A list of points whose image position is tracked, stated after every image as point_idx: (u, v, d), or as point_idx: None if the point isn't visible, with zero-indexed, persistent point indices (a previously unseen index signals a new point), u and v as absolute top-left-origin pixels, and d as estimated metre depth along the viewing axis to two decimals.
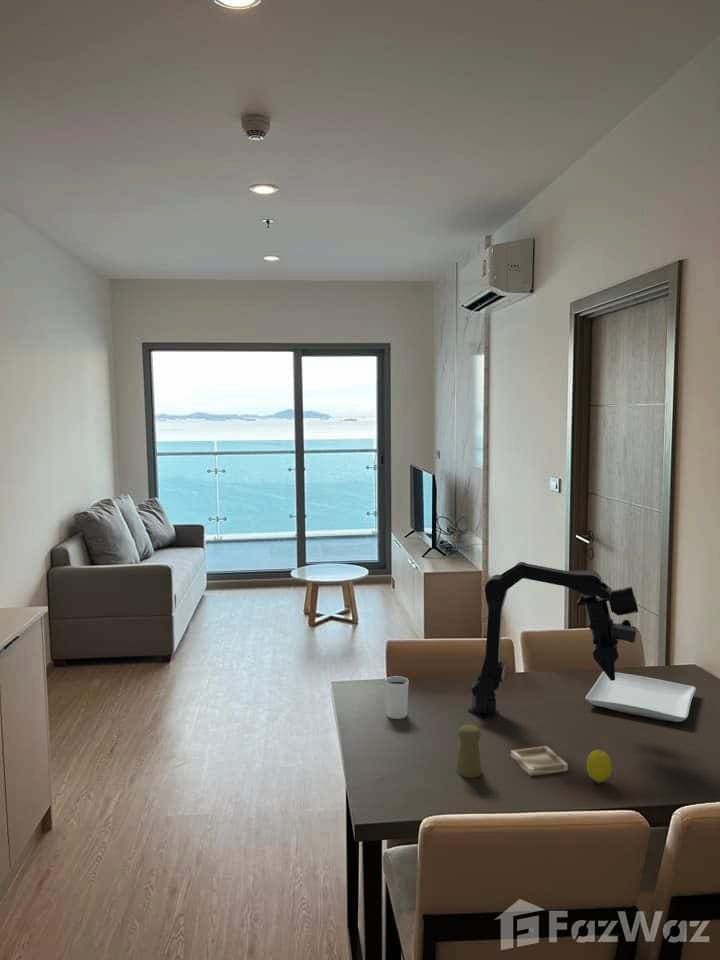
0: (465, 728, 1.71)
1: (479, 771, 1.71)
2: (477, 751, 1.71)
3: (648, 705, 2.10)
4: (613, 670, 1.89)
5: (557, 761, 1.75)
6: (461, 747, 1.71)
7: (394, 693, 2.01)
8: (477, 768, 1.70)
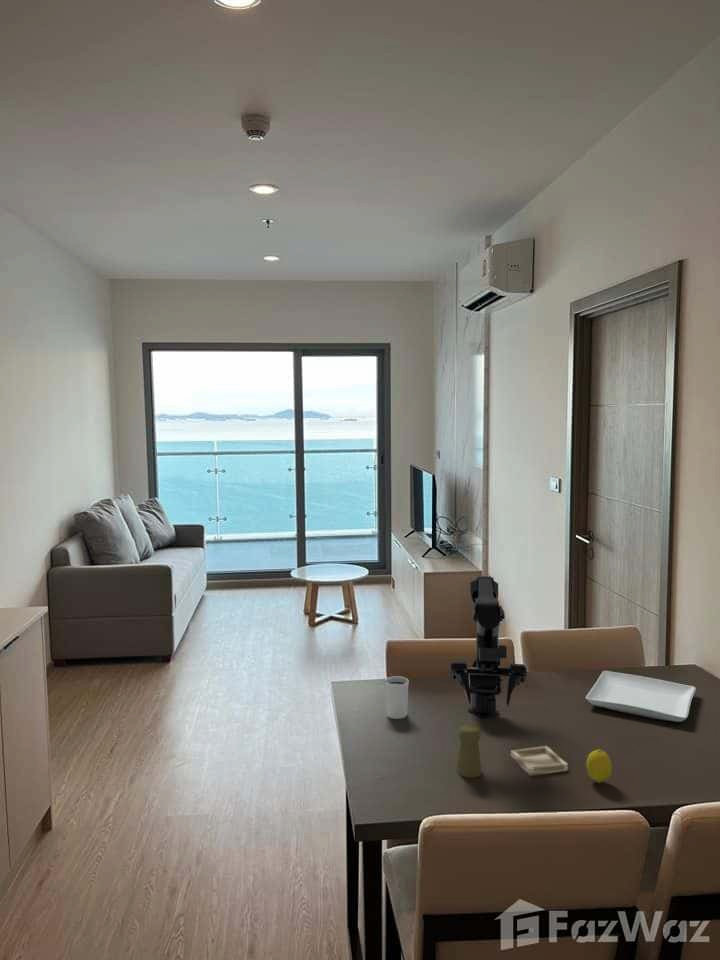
0: (465, 728, 1.71)
1: (479, 771, 1.71)
2: (477, 751, 1.71)
3: (648, 705, 2.10)
4: (466, 691, 1.80)
5: (557, 761, 1.75)
6: (461, 747, 1.71)
7: (394, 693, 2.01)
8: (477, 768, 1.70)
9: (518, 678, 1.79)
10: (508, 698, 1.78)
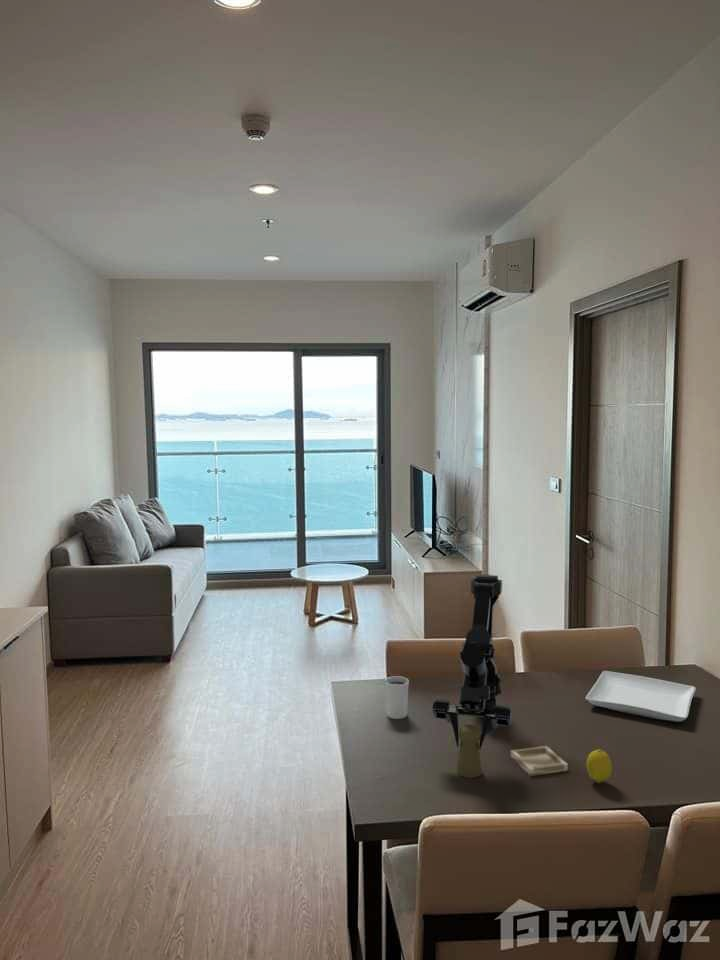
0: (465, 728, 1.71)
1: (479, 771, 1.71)
2: (477, 751, 1.71)
3: (648, 705, 2.10)
4: (454, 732, 1.73)
5: (557, 761, 1.75)
6: (461, 747, 1.71)
7: (394, 693, 2.01)
8: (477, 768, 1.70)
9: (493, 720, 1.72)
10: (481, 740, 1.70)
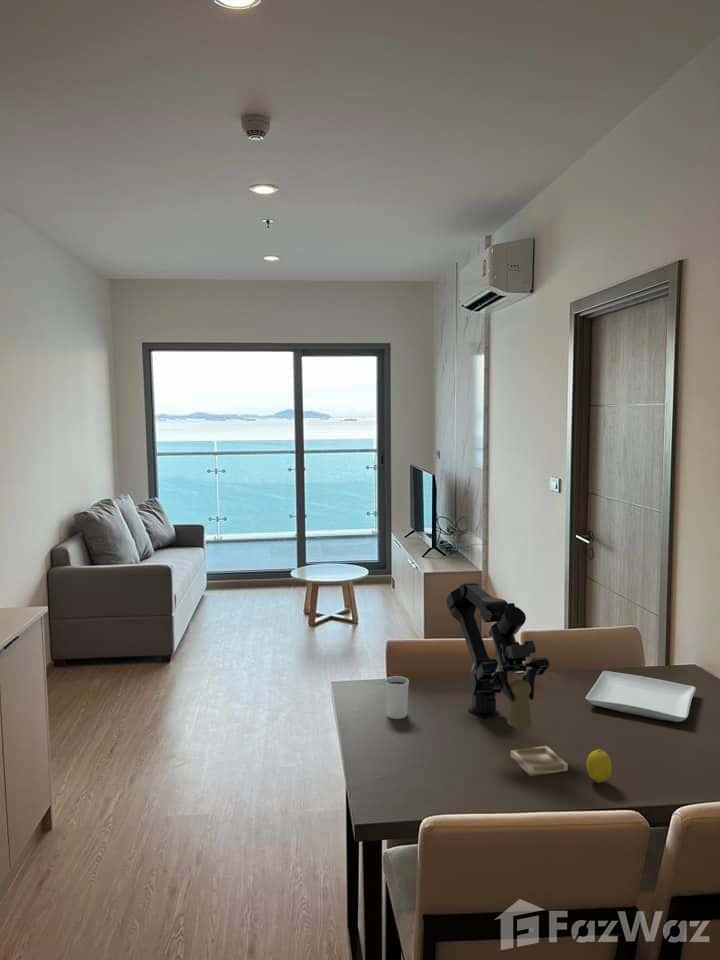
0: (518, 683, 1.82)
1: None
2: None
3: (648, 705, 2.10)
4: (507, 689, 1.82)
5: (557, 761, 1.75)
6: (516, 702, 1.82)
7: (394, 693, 2.01)
8: (530, 718, 1.83)
9: (537, 671, 1.86)
10: (532, 692, 1.83)
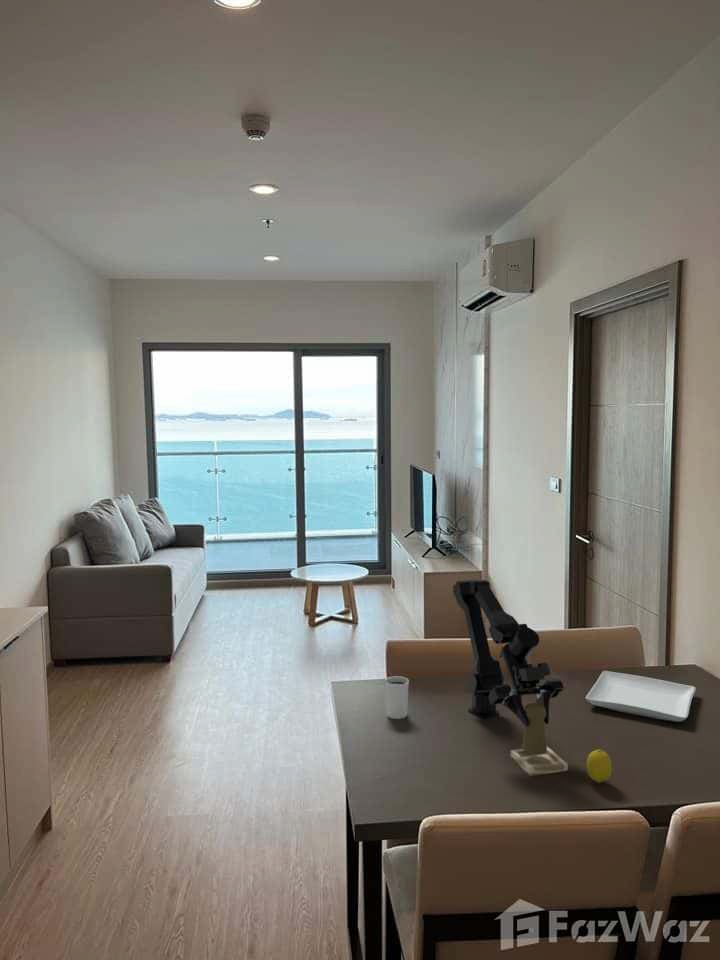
0: (533, 707, 1.76)
1: None
2: None
3: (648, 705, 2.10)
4: (521, 713, 1.77)
5: (557, 761, 1.75)
6: (531, 726, 1.76)
7: (394, 693, 2.01)
8: (545, 743, 1.77)
9: (551, 694, 1.80)
10: (547, 716, 1.78)
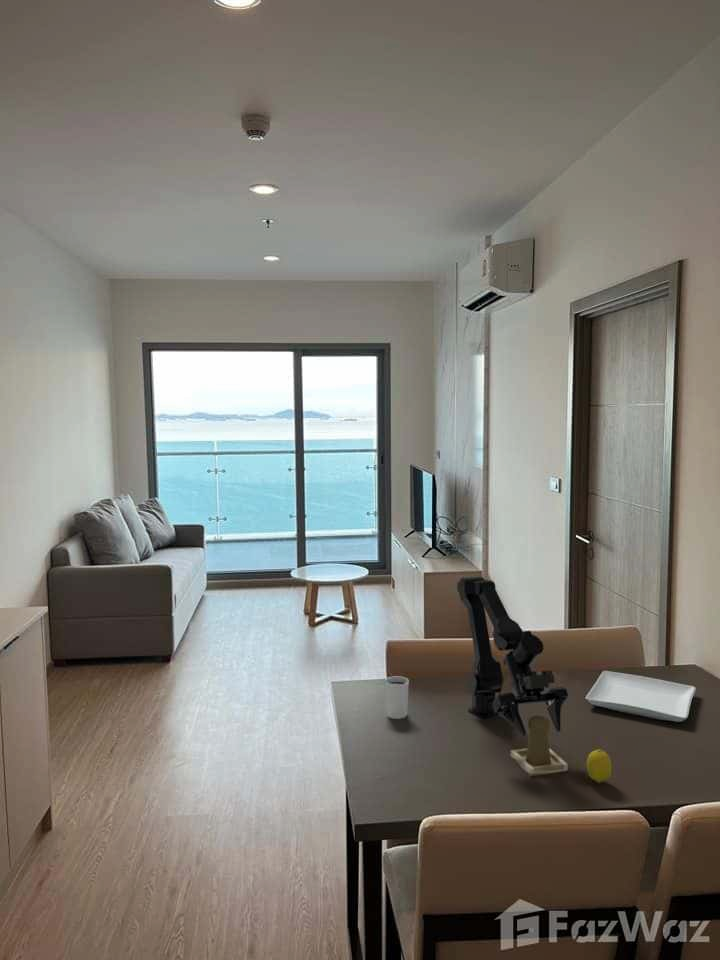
0: (537, 719, 1.75)
1: None
2: None
3: (648, 705, 2.10)
4: (518, 723, 1.74)
5: (557, 761, 1.75)
6: (534, 739, 1.74)
7: (394, 693, 2.01)
8: (549, 756, 1.75)
9: (562, 701, 1.79)
10: (559, 723, 1.76)
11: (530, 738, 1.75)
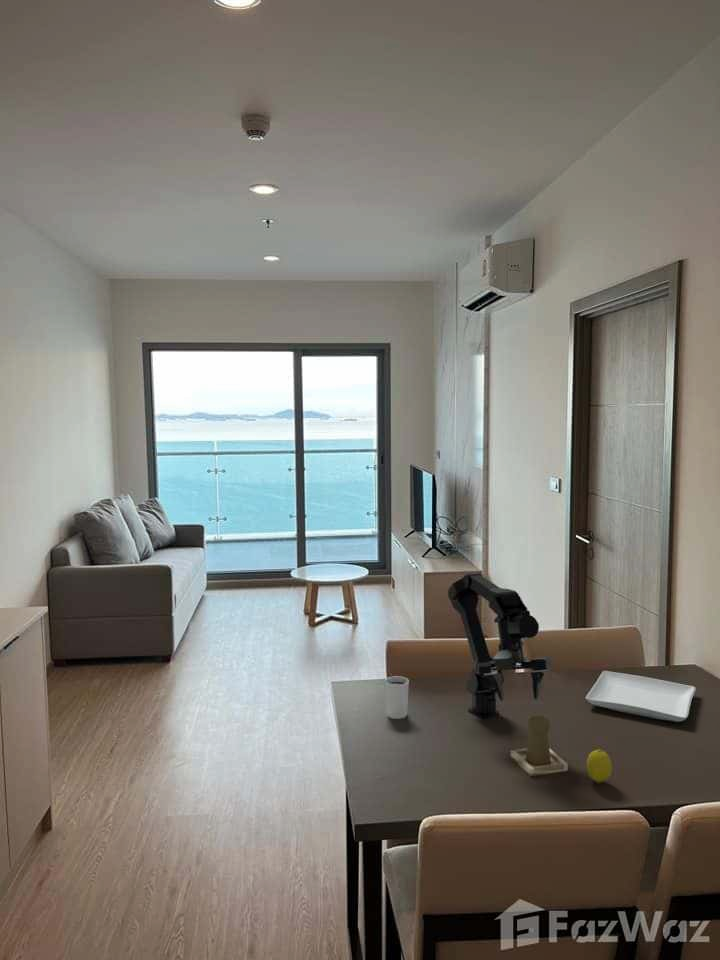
0: (537, 719, 1.75)
1: None
2: None
3: (648, 705, 2.10)
4: None
5: (557, 761, 1.75)
6: (534, 739, 1.74)
7: (394, 693, 2.01)
8: (549, 756, 1.75)
9: (540, 673, 1.84)
10: (534, 693, 1.85)
11: (530, 738, 1.75)
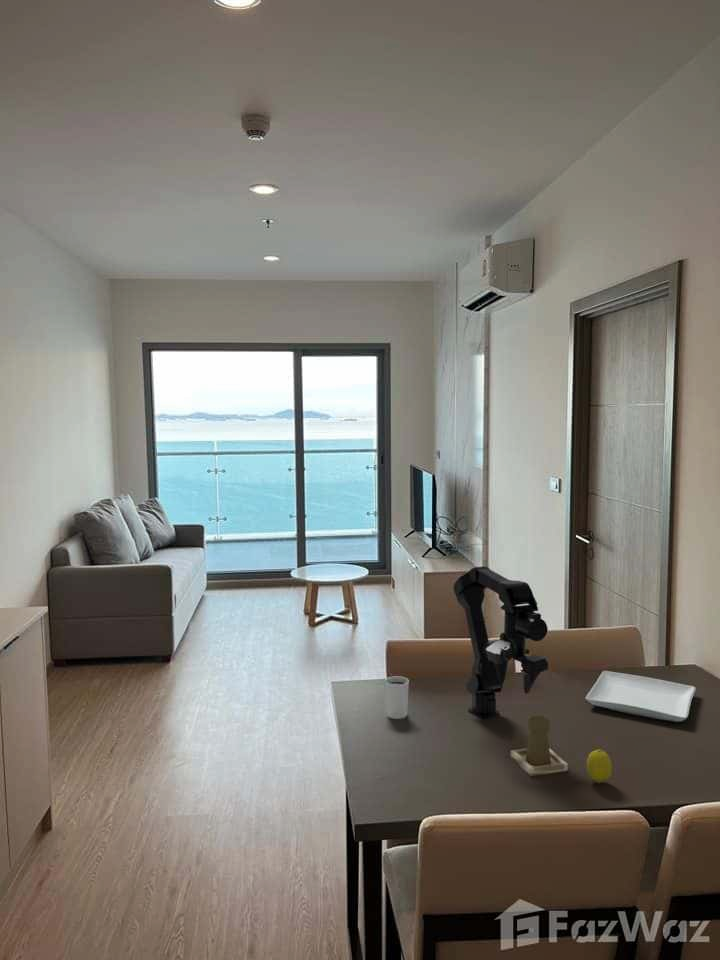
0: (537, 719, 1.75)
1: None
2: None
3: (648, 705, 2.10)
4: None
5: (557, 761, 1.75)
6: (534, 739, 1.74)
7: (394, 693, 2.01)
8: (549, 756, 1.75)
9: None
10: (525, 688, 1.86)
11: (530, 738, 1.75)
